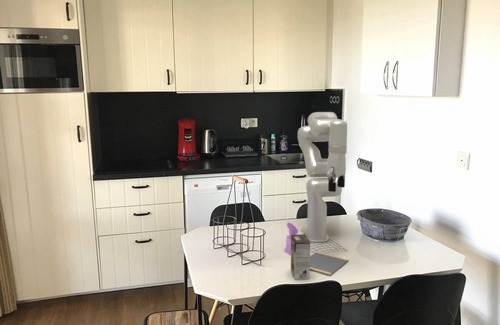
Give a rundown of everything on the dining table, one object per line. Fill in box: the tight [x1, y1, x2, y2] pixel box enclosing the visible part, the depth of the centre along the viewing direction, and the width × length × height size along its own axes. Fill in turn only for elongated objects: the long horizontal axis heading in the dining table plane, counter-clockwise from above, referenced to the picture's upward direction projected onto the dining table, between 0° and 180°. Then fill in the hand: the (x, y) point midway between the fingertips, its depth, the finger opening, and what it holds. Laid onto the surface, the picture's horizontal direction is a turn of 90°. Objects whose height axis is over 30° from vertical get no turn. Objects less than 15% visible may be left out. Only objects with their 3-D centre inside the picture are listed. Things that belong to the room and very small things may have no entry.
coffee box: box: [290, 233, 311, 280], centre depth 177 cm, size 9×6×16 cm
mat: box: [309, 250, 349, 277], centre depth 188 cm, size 16×18×1 cm
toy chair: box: [283, 221, 301, 256], centre depth 201 cm, size 8×9×15 cm
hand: (336, 189), depth 184 cm, fingers open, 9 cm apart
